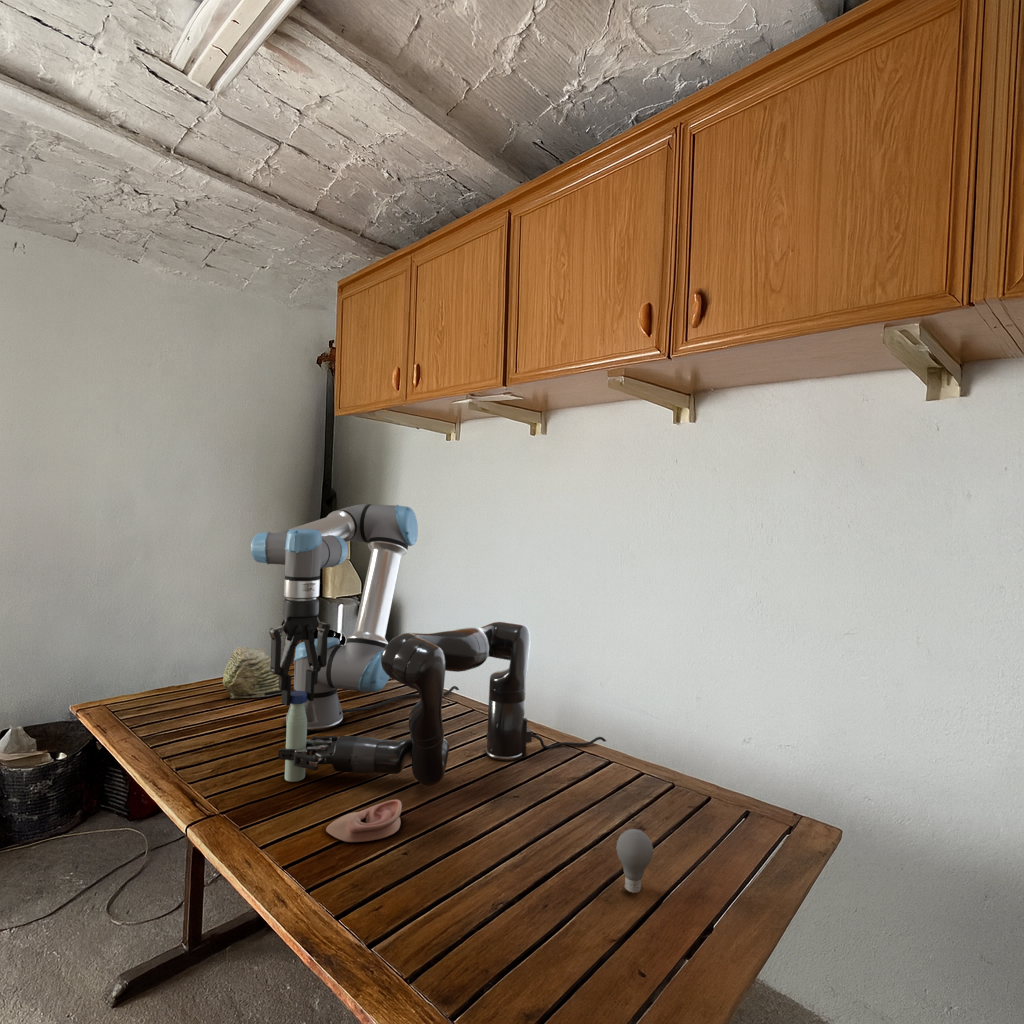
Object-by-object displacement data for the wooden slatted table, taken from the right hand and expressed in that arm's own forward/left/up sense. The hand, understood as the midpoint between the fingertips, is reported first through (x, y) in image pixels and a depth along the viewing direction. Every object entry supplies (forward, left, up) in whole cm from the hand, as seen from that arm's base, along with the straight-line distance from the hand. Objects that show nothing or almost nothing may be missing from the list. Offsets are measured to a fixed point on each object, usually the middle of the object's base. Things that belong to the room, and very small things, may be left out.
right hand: (284, 749), depth 142 cm
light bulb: (-53, +60, -6) cm, 81 cm away
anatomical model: (-14, +28, -6) cm, 32 cm away
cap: (-2, +1, +13) cm, 13 cm away
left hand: (-2, +1, +11) cm, 11 cm away
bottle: (-2, +1, -6) cm, 7 cm away
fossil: (+7, -62, -6) cm, 63 cm away
